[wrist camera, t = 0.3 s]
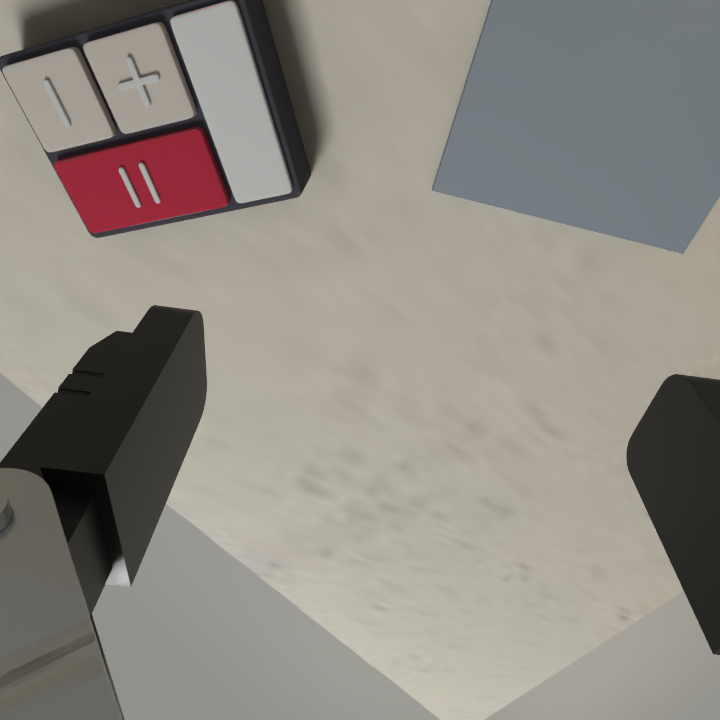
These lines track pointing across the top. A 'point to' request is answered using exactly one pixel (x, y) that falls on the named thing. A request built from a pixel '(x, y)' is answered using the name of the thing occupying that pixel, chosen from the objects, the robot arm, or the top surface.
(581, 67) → the mat
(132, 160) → the calculator
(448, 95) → the top surface
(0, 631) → the robot arm
